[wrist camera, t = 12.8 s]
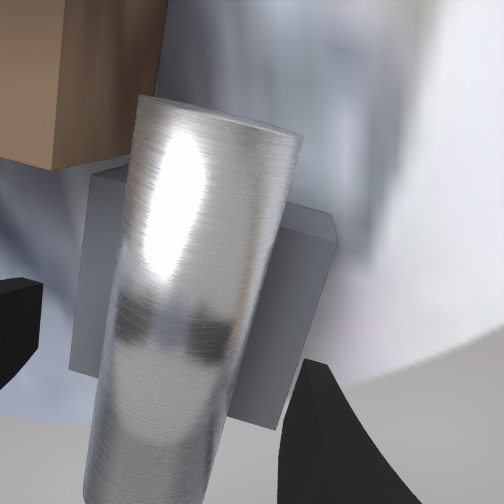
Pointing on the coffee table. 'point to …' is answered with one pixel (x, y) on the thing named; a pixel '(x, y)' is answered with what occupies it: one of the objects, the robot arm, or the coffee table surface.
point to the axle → (183, 296)
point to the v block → (267, 312)
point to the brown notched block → (75, 77)
